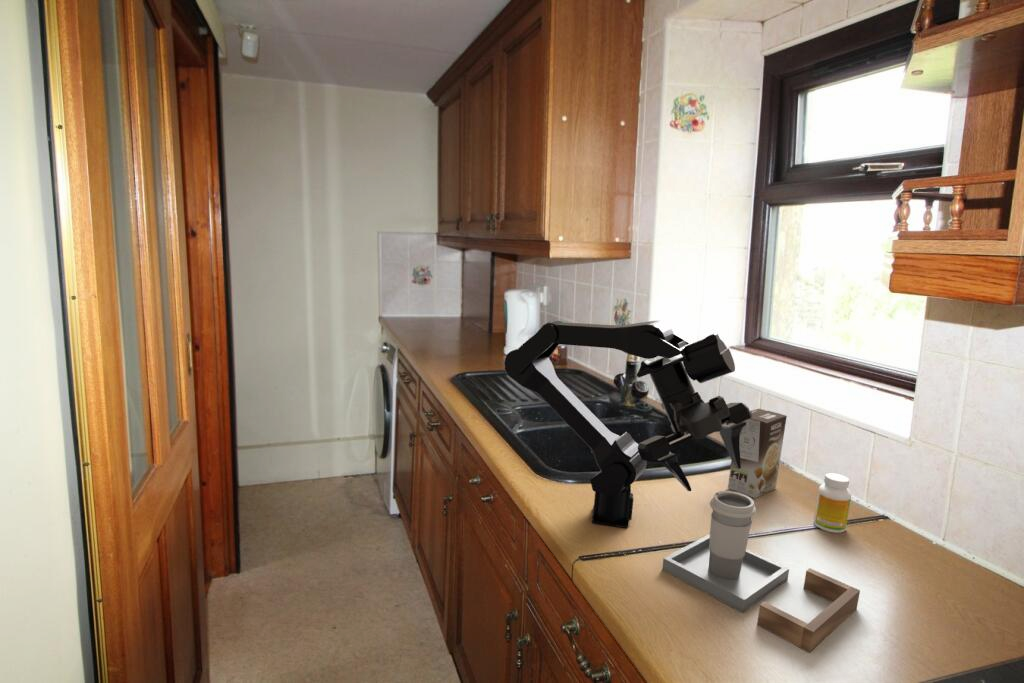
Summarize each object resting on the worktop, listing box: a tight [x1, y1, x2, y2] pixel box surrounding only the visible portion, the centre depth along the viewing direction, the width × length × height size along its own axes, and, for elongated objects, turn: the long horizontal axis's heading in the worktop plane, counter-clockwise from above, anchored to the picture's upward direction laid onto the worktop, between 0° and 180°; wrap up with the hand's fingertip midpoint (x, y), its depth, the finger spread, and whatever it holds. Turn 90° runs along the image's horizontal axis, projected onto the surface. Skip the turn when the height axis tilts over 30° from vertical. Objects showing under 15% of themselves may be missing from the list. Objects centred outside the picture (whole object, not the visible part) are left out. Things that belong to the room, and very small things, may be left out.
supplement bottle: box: [813, 472, 852, 534], centre depth 116 cm, size 5×5×10 cm
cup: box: [709, 490, 757, 579], centre depth 97 cm, size 7×7×12 cm
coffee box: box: [727, 408, 787, 499], centre depth 131 cm, size 9×6×16 cm
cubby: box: [756, 568, 861, 654], centre depth 89 cm, size 7×15×3 cm, turn 131°
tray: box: [662, 533, 790, 613], centre depth 98 cm, size 14×14×2 cm
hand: (714, 479), depth 105 cm, fingers open, 9 cm apart
